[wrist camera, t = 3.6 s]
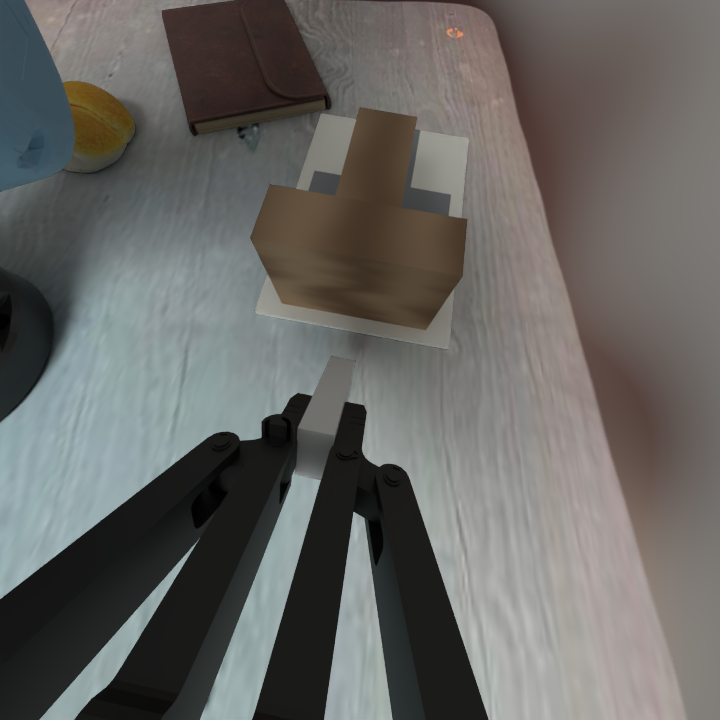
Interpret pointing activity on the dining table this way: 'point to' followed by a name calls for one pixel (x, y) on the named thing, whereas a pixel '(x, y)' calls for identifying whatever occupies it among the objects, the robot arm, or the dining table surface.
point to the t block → (363, 236)
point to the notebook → (241, 64)
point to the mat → (422, 192)
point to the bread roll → (97, 127)
